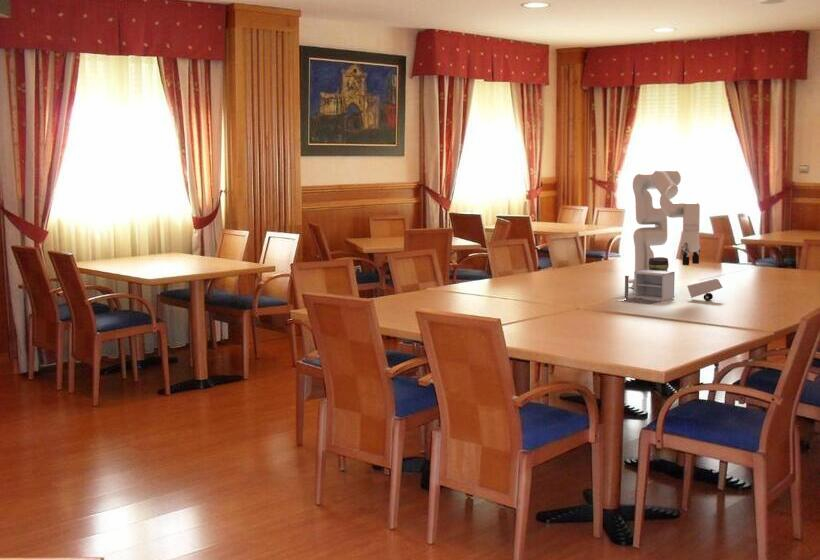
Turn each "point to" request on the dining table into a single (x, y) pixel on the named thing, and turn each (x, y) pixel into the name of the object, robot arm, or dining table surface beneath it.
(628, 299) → the grey l-shaped piece
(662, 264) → the coffee jar
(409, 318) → the dining table surface
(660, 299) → the cabinet
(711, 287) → the grey plank with wheel
